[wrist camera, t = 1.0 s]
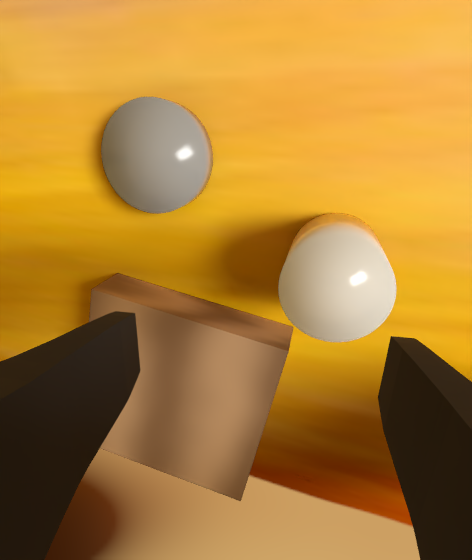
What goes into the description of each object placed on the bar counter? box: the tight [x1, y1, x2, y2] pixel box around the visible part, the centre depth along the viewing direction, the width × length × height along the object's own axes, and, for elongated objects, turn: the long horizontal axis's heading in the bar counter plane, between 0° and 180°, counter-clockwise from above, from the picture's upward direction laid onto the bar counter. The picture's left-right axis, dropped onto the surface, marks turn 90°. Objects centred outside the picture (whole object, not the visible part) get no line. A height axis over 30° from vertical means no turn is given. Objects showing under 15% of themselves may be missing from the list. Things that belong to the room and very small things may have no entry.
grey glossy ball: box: [101, 97, 213, 213], centre depth 22 cm, size 6×6×2 cm
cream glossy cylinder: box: [278, 213, 396, 342], centre depth 19 cm, size 5×5×6 cm
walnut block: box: [89, 273, 293, 501], centre depth 26 cm, size 12×12×3 cm
